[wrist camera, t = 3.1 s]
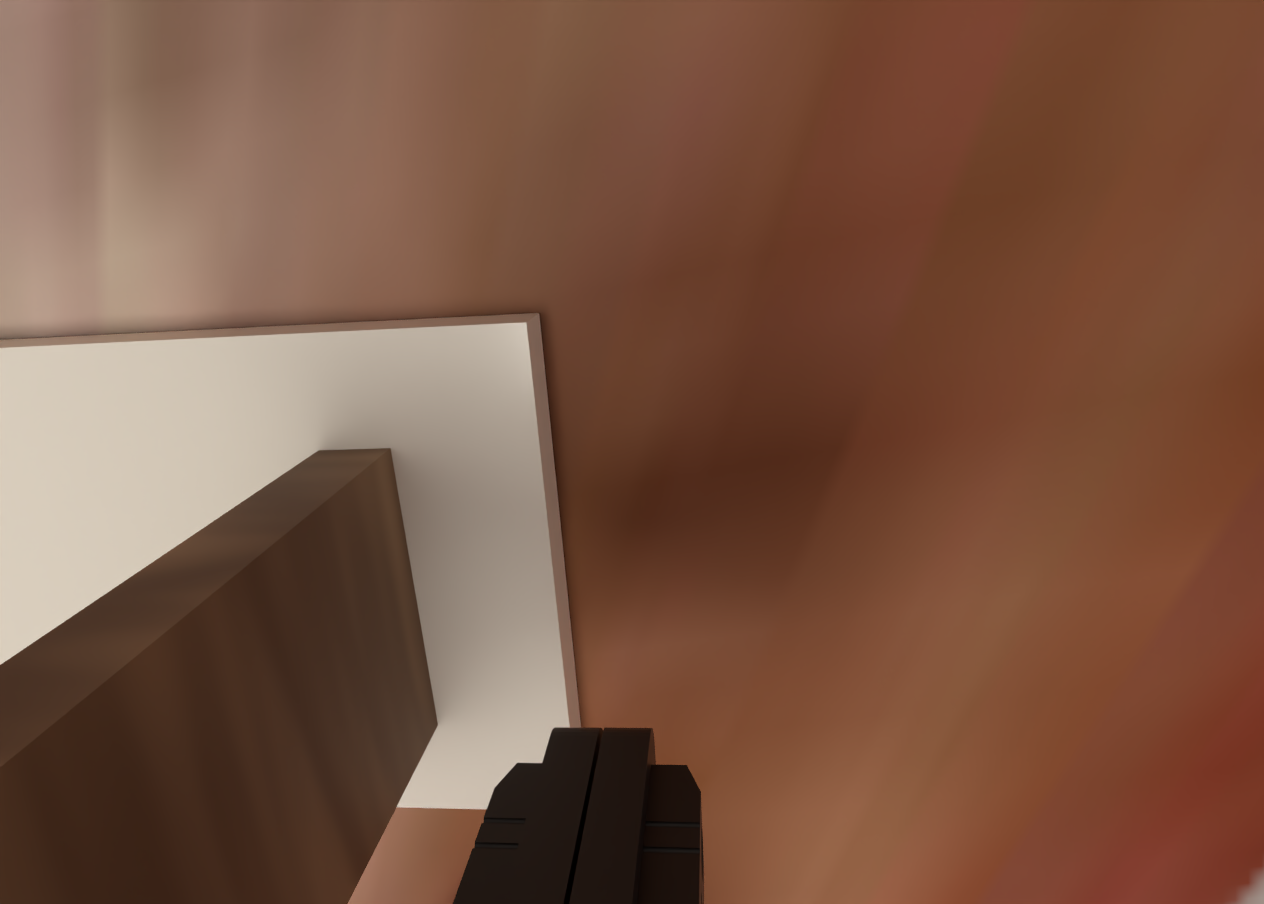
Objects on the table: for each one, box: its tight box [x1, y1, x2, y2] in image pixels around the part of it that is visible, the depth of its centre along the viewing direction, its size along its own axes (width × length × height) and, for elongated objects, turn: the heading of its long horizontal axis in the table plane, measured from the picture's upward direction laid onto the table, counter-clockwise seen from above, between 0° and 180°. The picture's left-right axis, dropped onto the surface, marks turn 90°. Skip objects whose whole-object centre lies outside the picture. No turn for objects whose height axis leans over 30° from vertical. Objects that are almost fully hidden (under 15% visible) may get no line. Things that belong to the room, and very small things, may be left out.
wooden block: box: [0, 448, 438, 904], centre depth 13 cm, size 2×7×10 cm, turn 4°
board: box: [0, 313, 581, 809], centre depth 19 cm, size 20×12×1 cm, turn 94°
